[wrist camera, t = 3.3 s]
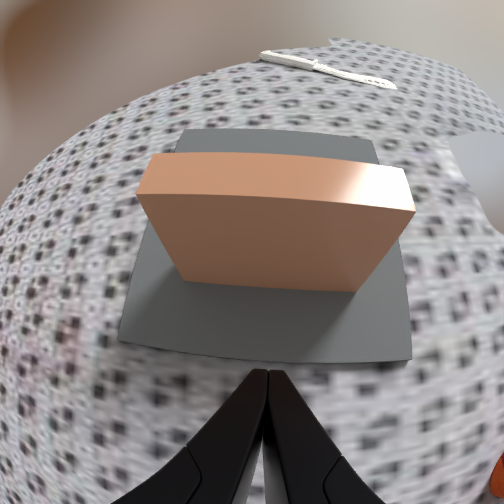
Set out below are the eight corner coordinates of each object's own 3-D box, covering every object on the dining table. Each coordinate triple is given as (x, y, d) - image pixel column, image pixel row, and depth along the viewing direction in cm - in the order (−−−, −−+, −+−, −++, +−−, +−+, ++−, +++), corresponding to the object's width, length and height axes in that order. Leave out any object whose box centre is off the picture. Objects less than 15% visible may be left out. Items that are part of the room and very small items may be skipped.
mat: (408, 360, 18) (412, 359, 17) (120, 340, 19) (117, 339, 19) (370, 144, 29) (371, 140, 29) (184, 133, 31) (184, 129, 30)
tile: (356, 292, 20) (416, 211, 11) (184, 281, 21) (135, 194, 12) (353, 257, 21) (401, 166, 13) (191, 246, 22) (154, 151, 14)
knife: (418, 95, 39) (421, 89, 38) (424, 109, 37) (427, 102, 35) (262, 55, 43) (262, 48, 42) (254, 65, 40) (254, 57, 39)
